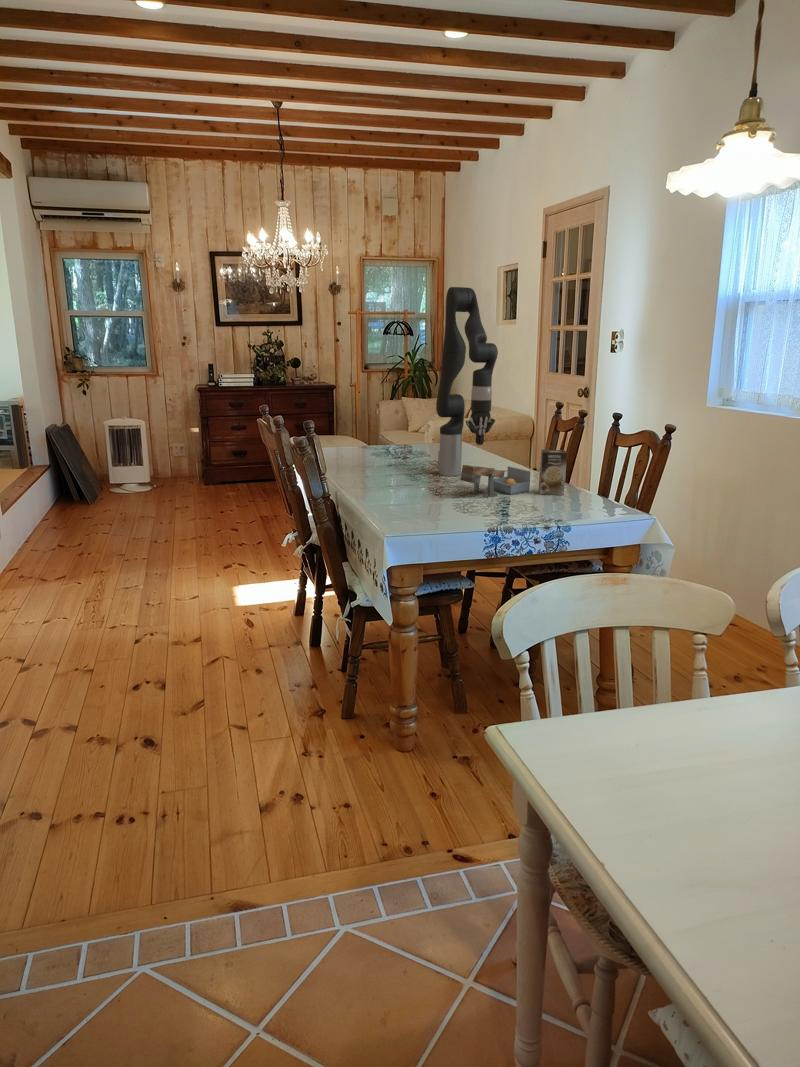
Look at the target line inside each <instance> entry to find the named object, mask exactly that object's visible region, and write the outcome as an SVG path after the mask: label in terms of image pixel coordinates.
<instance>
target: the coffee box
mask: <svg viewBox="0 0 800 1067" xmlns="http://www.w3.org/2000/svg"><path fill="white" fill-rule="evenodd" d="M567 460H568V452H567V451H566V450H565V449H564V450H563V449H562V450H561V449H541V451H540V463H539V464H540V466H539V478H538V479H539V480H538V495H541V494H546V495H547V496H565V486H566V474H567V473H566V471H567ZM546 495H545V496H546Z"/></svg>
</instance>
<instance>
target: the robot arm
mask: <svg viewBox="0 0 800 1067" xmlns="http://www.w3.org/2000/svg"><path fill="white" fill-rule="evenodd" d="M479 308H480V307H479V302H478V298H477V294H476V292H475V290H474V289H473V288H471V287H466V286H465V287H463V286H462V287H461V286H457V287H456V286H451V287H449V288H448V289H447V292H446V297H445V318H444V319H445V321H444V322H445V323H444V324H445V325H444V326H445V327H444V336H443V345H442V354H441V355H442V356H441V370H440V380H439V385H438V390H437V397H436V402H435V403H436V404H435V407H436V408H435V410H436V414H437V415H438V417H440V418H450V419H449V420H448V422H446V423H445V424H443V425H441V426H440V428H439V450H438V454H437V455H438V456H437V459H438V460H437V473H438V475H440V476H447V477H456V476H457V477H458V476H461V473H462V455H463V454H462V452H463V451H462V450H463V449H462V447H463V440H462V439H463V428H464V423H465V424H466V425H467V427H468V429H469V431H470V432H471V433H472V434H475V444H476V445H478V446H482V445H484V443H485V435H486V434H487V433H489V432H490V430H491V429H492V427H493V425H494V424H495V422H496V419H494V418H493V417H491V413H490V412H491V411H492V400H493V399H492V398H493V397H492V396H493V393H492V379H493V372H494V368H495V365H496V363H497V362H496V361H497V358H498V354H499V351H498V347H497V345H496V343H493V342H487V340H488V336H487V333H486V331H485V328H484V326H483V323H482V320H481V315H480V314H481V313H480V309H479ZM456 312H457V313H468V314H469V316H468V318H467V319H466V321H465V322H464V323H465V324H464V334H465V336H466V337H465V338H466V339H467V341H468V342H467V343H468V358H469V360H470V361H471V362H473V363H478V364H484V363H485V364H484V365H483V367H482V368H478V369H475V370H473V372H472V388H471V391H470V392H471V394H470V395H471V396H470V399H471V400H470V411H471V413H470V418H469V419H468V420H467V419H466V420H465V409H466V408H465V406H466V404H465V403H466V402H465V400H464V397H463V396H462V395H461V394H460V393H459V394H456V393H454V394H453V393H452V394H451V389H452V386H453V383H454V382H455V380H456V378H457V377H458V375H459V373H461V371H462V369H463V367H464V365H465V362H466V352H467V346H466V342H465V341H464V338H463V336H462V334H461V332H460V329H459V328H458V323H457V319H456V314H457V313H456Z"/></svg>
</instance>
